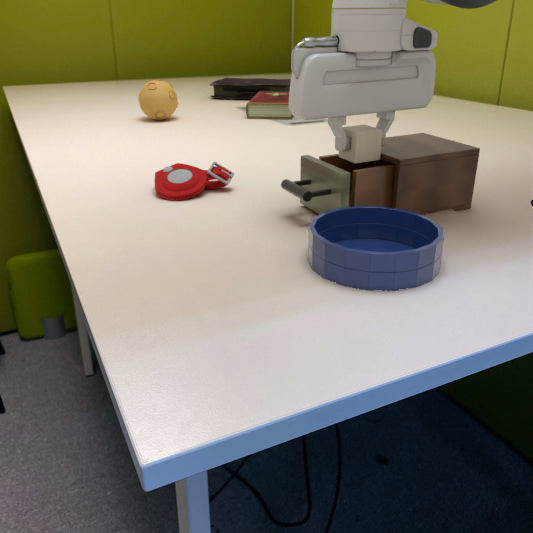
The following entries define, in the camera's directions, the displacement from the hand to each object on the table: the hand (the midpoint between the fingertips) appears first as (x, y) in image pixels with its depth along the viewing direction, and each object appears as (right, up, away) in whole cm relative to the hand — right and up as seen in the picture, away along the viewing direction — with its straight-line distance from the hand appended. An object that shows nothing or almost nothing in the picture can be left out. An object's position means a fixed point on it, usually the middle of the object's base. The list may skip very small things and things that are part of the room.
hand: (360, 148), depth 73 cm
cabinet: (+8, -6, +7) cm, 13 cm away
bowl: (-1, -16, -11) cm, 19 cm away
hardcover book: (-10, +27, +79) cm, 84 cm away
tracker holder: (-24, -4, +14) cm, 28 cm away
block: (0, -1, +1) cm, 1 cm away
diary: (-16, +40, +106) cm, 114 cm away
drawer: (-2, -8, +3) cm, 9 cm away
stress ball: (-40, +22, +70) cm, 84 cm away
